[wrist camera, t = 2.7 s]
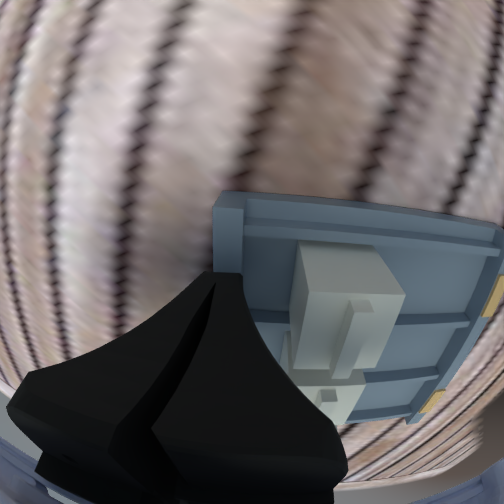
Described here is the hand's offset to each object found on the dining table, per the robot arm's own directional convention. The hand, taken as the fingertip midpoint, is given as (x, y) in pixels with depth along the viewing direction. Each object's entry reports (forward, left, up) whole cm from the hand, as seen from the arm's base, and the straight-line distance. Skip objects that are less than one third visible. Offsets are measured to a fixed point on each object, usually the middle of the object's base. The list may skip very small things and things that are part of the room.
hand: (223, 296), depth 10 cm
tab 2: (-4, +4, -2) cm, 6 cm away
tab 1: (-4, 0, -2) cm, 4 cm away
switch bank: (-6, +4, -3) cm, 8 cm away
